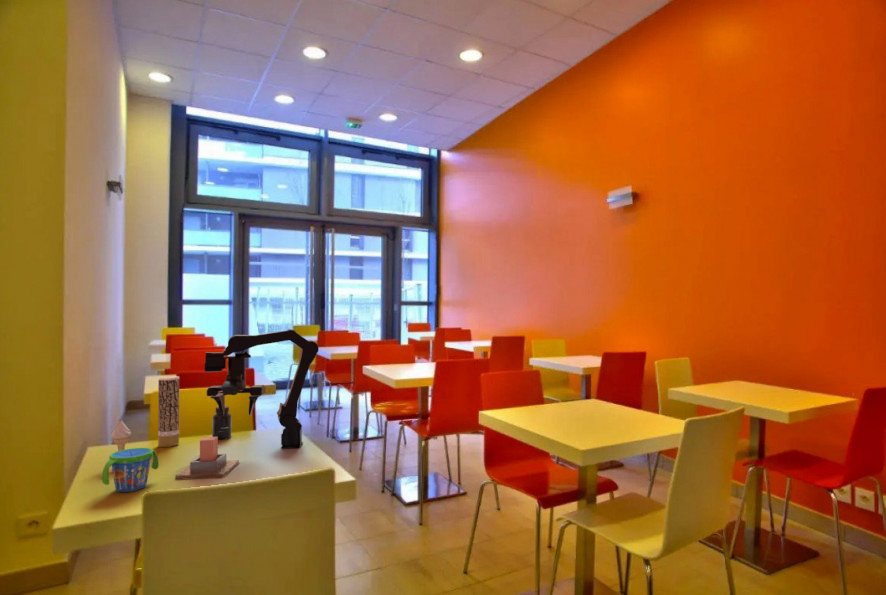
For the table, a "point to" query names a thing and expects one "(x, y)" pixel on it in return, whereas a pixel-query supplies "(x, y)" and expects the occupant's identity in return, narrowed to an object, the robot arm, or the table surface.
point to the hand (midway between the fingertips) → (236, 415)
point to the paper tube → (168, 411)
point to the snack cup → (130, 468)
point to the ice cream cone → (121, 435)
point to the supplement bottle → (221, 424)
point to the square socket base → (208, 468)
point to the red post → (209, 449)
